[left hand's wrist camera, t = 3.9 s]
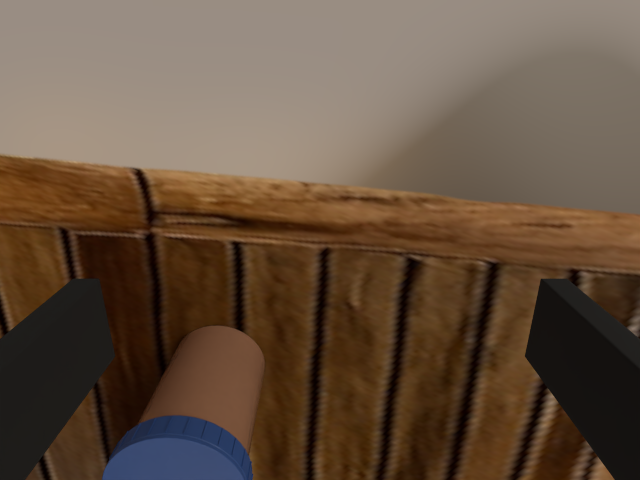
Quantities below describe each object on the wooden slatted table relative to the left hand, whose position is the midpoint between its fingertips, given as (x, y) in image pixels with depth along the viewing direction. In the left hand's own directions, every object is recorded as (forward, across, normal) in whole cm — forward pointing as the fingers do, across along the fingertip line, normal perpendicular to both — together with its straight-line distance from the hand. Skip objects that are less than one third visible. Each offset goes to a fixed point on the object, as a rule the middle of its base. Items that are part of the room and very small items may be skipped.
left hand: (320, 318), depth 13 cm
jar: (+28, +11, +23) cm, 38 cm away
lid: (+13, +11, +23) cm, 28 cm away
